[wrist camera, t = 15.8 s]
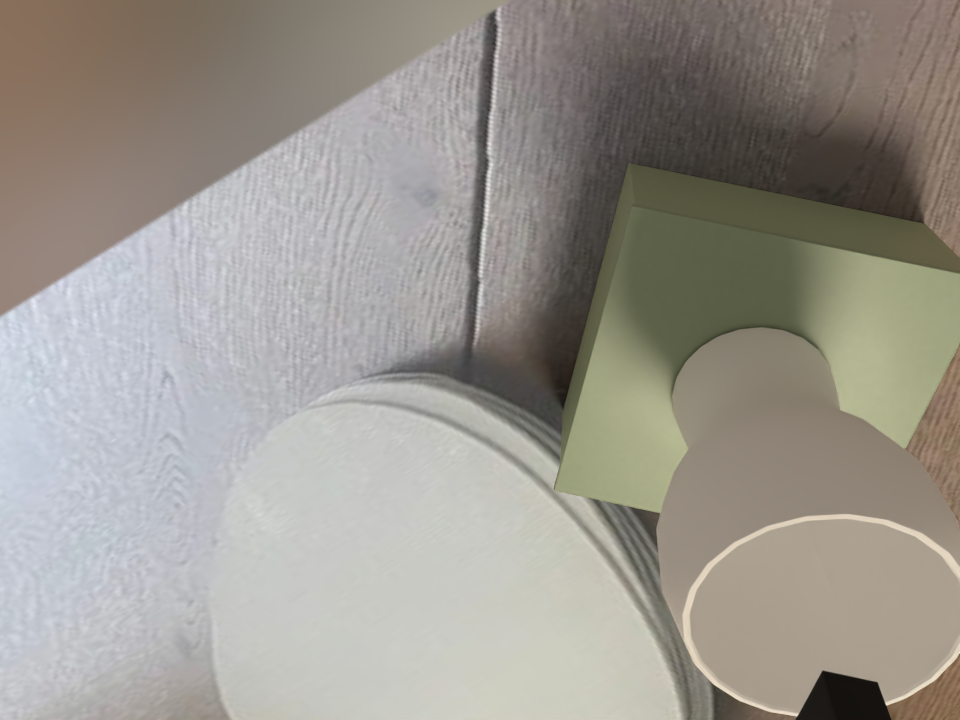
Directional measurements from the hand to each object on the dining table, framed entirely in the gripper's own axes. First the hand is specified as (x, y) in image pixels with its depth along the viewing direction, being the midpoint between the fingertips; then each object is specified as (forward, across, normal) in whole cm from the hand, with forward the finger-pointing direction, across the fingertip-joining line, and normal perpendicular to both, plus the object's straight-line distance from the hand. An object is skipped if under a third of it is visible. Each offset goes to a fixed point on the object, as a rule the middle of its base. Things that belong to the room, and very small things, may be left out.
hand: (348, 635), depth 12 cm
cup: (+29, +14, -10) cm, 34 cm away
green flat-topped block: (+37, +14, -10) cm, 41 cm away
